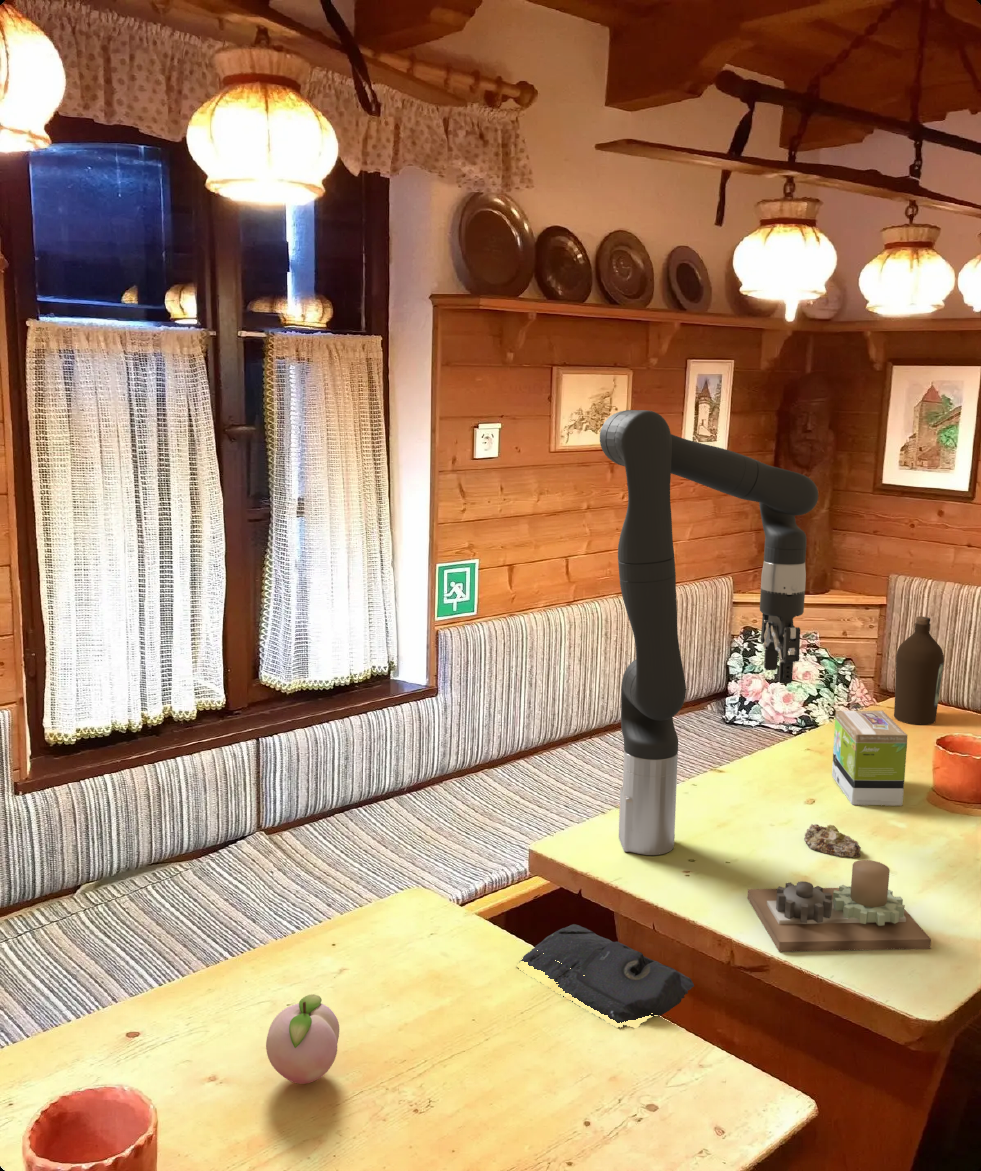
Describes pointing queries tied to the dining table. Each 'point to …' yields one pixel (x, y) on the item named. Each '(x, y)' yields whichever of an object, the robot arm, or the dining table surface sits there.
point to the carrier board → (826, 922)
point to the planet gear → (869, 895)
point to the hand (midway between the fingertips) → (777, 676)
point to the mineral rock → (831, 841)
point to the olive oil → (918, 676)
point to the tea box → (869, 757)
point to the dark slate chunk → (608, 974)
